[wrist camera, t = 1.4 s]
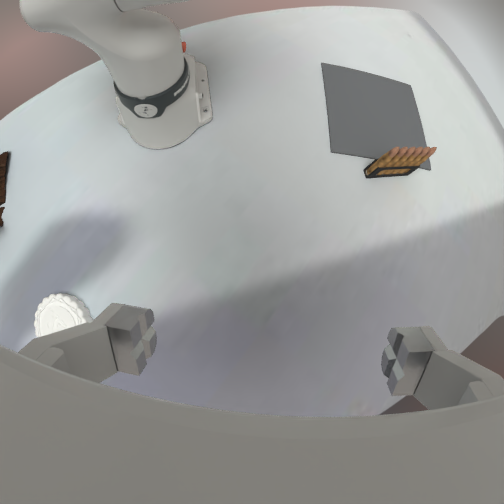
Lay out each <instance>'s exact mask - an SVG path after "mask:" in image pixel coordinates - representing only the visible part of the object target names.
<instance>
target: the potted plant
mask: <svg viewBox="0 0 504 504" xmlns="http://www.w3.org/2000/svg"><path fill="white" fill-rule="evenodd" d="M7 155H8V151H7V152H4V153H2V154H1V155H0V205H2V204H4V203H5V189H4V187H5V186H4V185H5V183H4V182H5V175H4V174H5V173H6V171H5V169H6V167H5V165H6V160H7ZM4 209H5V207H1V208H0V226H3V225H2V224H3V221H2V218H1V216H2V213H3V210H4Z"/></svg>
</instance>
